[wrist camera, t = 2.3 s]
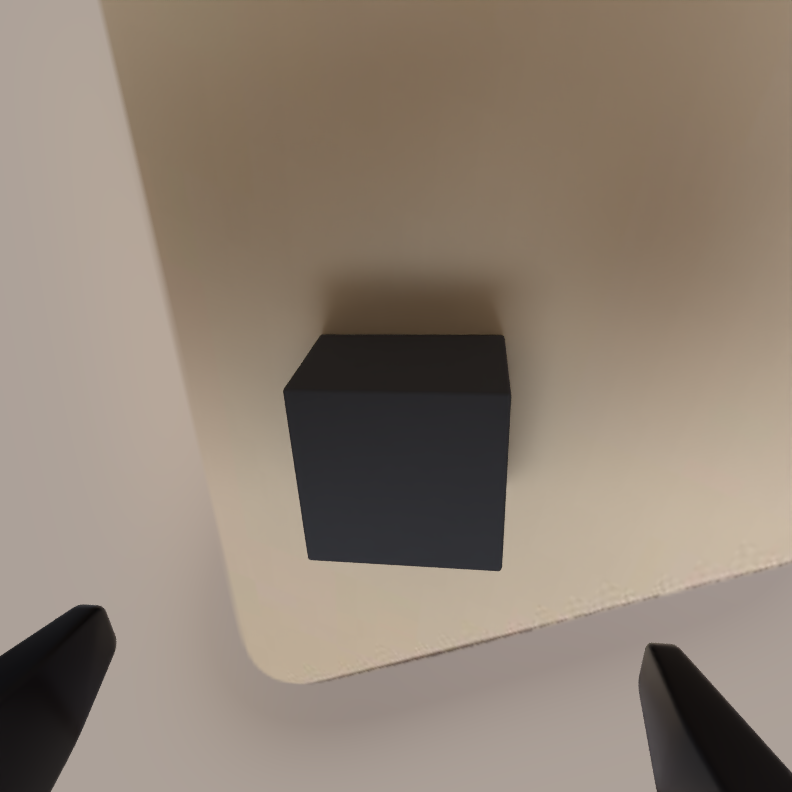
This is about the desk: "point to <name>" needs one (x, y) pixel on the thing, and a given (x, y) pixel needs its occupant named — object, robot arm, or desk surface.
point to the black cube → (402, 449)
